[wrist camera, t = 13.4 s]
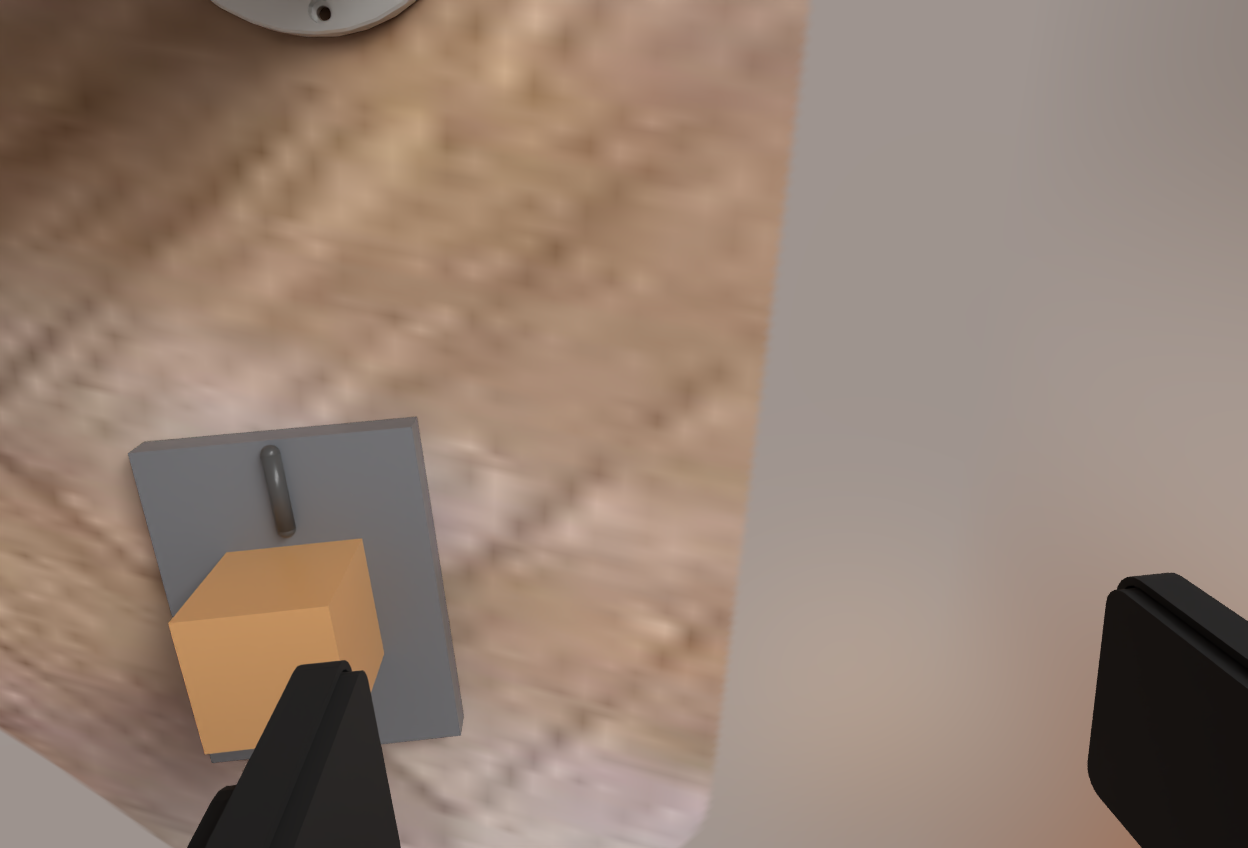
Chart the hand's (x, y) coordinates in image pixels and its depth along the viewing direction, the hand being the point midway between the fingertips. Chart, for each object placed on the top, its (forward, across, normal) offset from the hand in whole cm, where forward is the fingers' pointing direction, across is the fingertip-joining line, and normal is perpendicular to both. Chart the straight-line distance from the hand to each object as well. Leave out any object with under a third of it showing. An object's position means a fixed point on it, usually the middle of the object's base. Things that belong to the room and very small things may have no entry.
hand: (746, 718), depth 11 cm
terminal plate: (+28, +15, +12) cm, 34 cm away
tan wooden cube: (+27, +15, +12) cm, 33 cm away
